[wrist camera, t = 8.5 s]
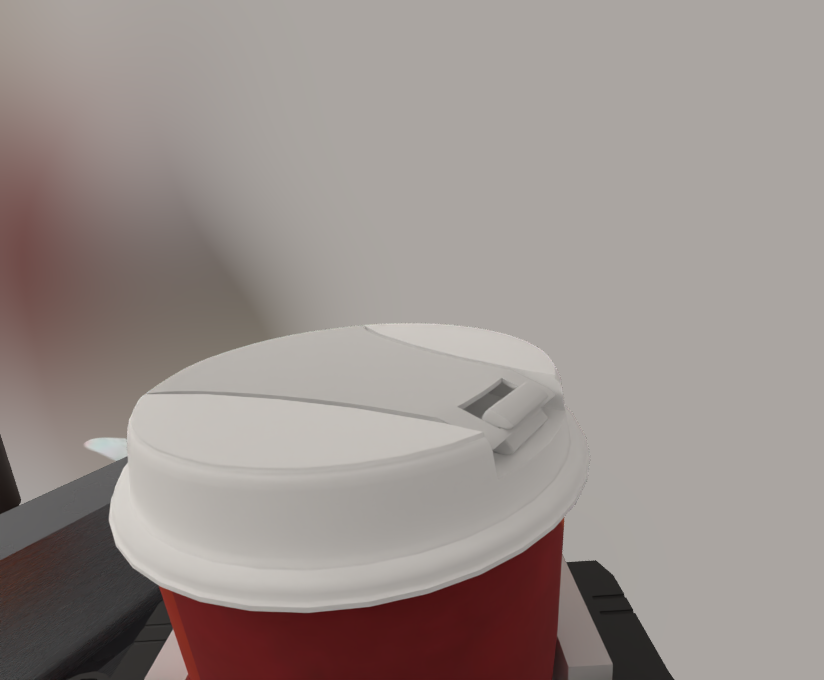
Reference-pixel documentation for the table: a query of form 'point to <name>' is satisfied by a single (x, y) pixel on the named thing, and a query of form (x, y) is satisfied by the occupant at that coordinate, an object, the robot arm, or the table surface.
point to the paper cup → (357, 505)
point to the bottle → (7, 483)
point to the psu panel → (68, 584)
